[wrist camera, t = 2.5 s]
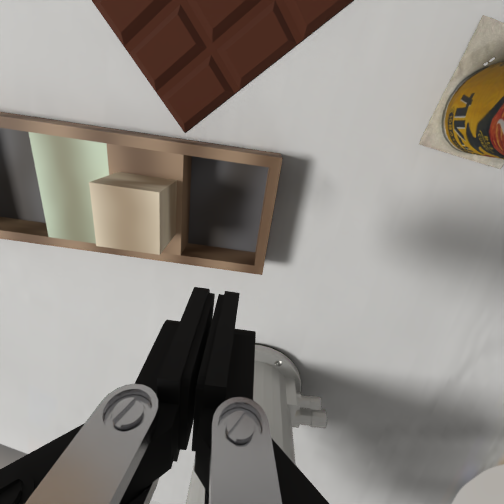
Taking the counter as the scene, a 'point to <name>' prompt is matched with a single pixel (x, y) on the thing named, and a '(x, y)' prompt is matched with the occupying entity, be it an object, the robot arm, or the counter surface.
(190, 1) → the chocolate bar
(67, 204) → the box
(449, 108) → the condiment
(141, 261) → the counter surface
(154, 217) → the block
